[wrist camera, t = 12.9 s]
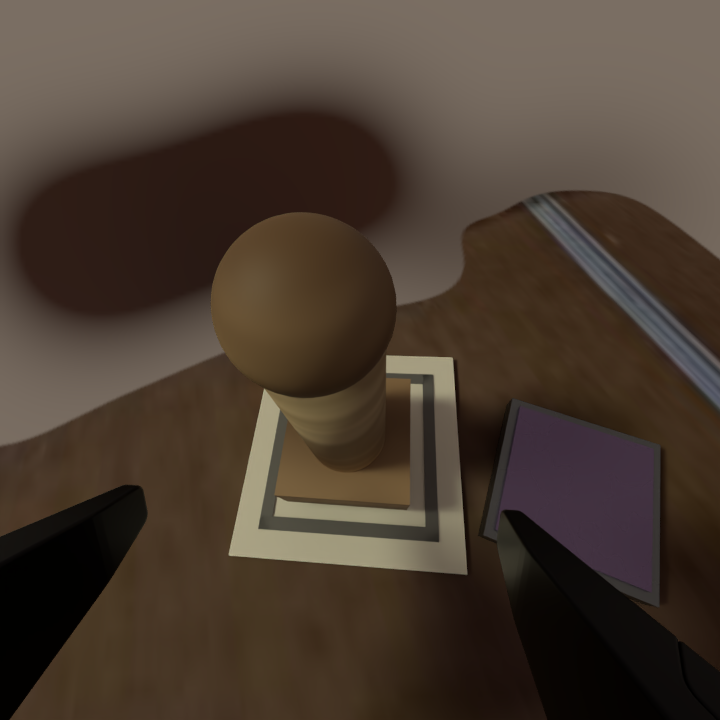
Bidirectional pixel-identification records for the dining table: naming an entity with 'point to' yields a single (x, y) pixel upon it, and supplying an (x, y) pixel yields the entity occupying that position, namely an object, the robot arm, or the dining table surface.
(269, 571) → the dining table surface
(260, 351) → the stamp
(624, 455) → the ink pad
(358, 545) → the print card
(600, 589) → the robot arm
